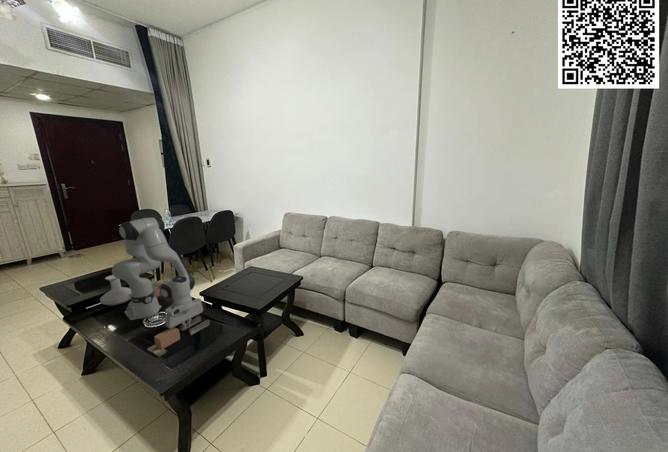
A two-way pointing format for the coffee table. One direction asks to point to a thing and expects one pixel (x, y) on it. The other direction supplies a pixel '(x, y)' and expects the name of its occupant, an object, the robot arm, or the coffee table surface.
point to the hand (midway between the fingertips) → (186, 326)
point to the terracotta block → (167, 338)
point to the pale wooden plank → (160, 352)
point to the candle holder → (116, 293)
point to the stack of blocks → (157, 287)
